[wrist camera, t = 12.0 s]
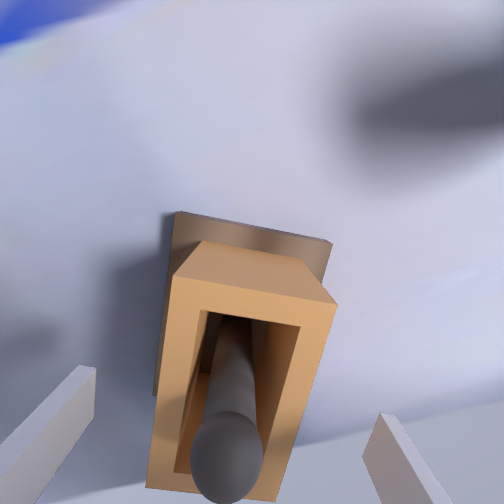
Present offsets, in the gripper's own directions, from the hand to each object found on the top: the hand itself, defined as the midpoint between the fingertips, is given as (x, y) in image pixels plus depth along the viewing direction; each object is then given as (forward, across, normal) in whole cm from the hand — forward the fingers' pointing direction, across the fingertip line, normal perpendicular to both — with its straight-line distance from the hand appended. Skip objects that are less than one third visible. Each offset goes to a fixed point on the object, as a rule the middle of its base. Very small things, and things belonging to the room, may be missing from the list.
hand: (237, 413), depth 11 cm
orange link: (+7, 0, 0) cm, 7 cm away
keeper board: (+9, 0, 0) cm, 9 cm away
